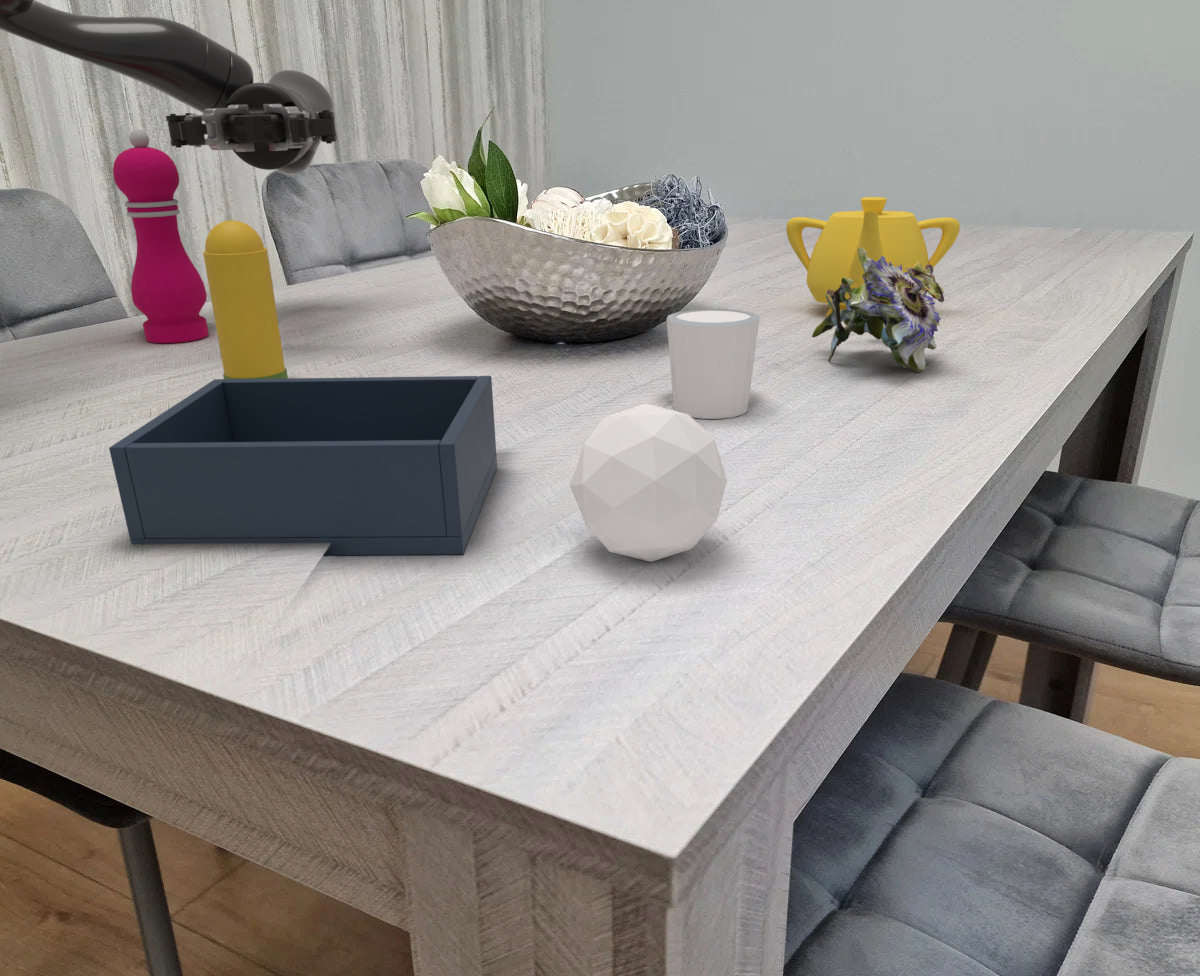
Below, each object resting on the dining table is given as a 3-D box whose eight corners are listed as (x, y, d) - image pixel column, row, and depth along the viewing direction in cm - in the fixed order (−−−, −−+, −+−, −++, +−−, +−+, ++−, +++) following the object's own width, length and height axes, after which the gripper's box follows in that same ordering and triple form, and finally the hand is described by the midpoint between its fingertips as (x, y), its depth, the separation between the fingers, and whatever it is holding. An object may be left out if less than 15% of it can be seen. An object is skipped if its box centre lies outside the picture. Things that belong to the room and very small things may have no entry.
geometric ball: (666, 583, 57) (739, 456, 57) (682, 594, 49) (767, 446, 49) (545, 514, 57) (618, 386, 56) (543, 514, 49) (627, 364, 48)
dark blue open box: (133, 556, 55) (108, 447, 53) (230, 469, 68) (214, 379, 66) (463, 554, 54) (454, 443, 52) (497, 467, 68) (491, 375, 65)
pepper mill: (160, 347, 105) (117, 130, 96) (128, 339, 109) (84, 130, 101) (226, 336, 110) (190, 128, 101) (193, 328, 114) (155, 128, 106)
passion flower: (907, 431, 92) (929, 336, 81) (789, 398, 95) (796, 303, 84) (944, 339, 96) (970, 238, 86) (830, 310, 99) (842, 209, 89)
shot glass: (679, 395, 83) (680, 305, 80) (764, 400, 81) (768, 309, 78) (654, 417, 78) (654, 321, 75) (745, 424, 75) (749, 326, 72)
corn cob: (218, 403, 84) (185, 224, 78) (239, 388, 89) (210, 217, 83) (279, 402, 84) (251, 223, 78) (297, 387, 88) (272, 216, 83)
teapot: (770, 311, 116) (775, 198, 111) (862, 297, 123) (871, 190, 118) (861, 330, 106) (871, 205, 101) (956, 313, 113) (970, 196, 107)
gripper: (349, 165, 105) (334, 175, 90) (202, 169, 103) (163, 180, 88) (339, 81, 101) (322, 78, 87) (188, 84, 100) (145, 82, 85)
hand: (242, 130), depth 88 cm, fingers open, 8 cm apart
